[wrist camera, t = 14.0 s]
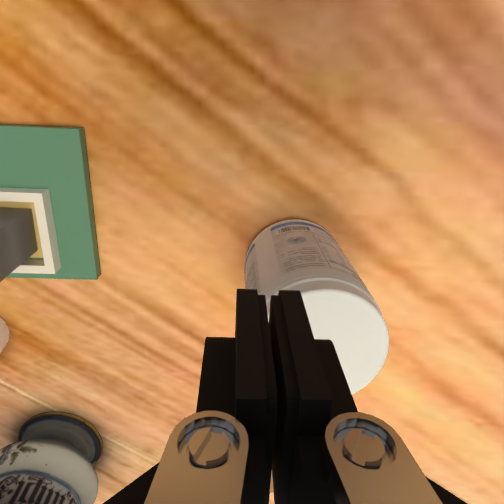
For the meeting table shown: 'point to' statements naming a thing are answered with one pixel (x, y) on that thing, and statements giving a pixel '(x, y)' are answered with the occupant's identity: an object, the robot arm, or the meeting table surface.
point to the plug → (15, 238)
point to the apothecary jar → (51, 462)
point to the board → (51, 198)
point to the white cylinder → (3, 334)
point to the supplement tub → (322, 293)
